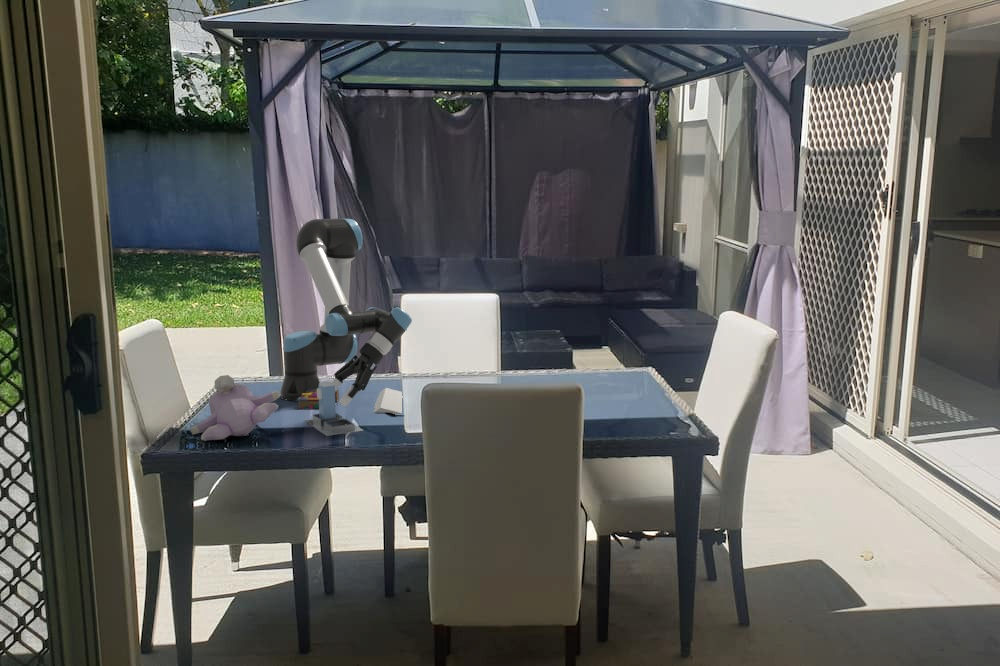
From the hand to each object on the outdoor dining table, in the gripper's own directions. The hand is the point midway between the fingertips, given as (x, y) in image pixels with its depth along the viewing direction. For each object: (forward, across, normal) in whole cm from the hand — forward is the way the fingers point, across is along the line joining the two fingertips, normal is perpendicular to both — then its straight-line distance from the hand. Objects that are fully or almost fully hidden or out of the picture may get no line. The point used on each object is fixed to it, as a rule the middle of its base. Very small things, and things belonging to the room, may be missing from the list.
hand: (333, 400), depth 278 cm
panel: (+7, -4, -5) cm, 9 cm away
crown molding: (-12, +15, -25) cm, 32 cm away
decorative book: (+3, +26, -9) cm, 28 cm away
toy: (+26, +11, +14) cm, 31 cm away
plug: (+6, +1, -4) cm, 7 cm away
